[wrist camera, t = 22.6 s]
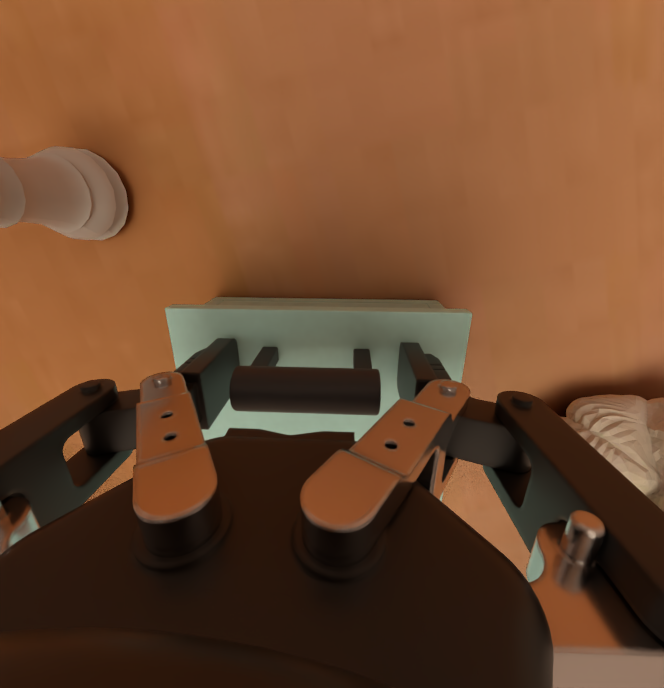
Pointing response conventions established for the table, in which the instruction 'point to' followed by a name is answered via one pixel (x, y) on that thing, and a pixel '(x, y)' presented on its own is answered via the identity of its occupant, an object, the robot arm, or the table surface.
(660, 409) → the fossil replica
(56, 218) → the rook chess piece
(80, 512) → the robot arm
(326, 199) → the table surface
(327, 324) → the green hinged lid
